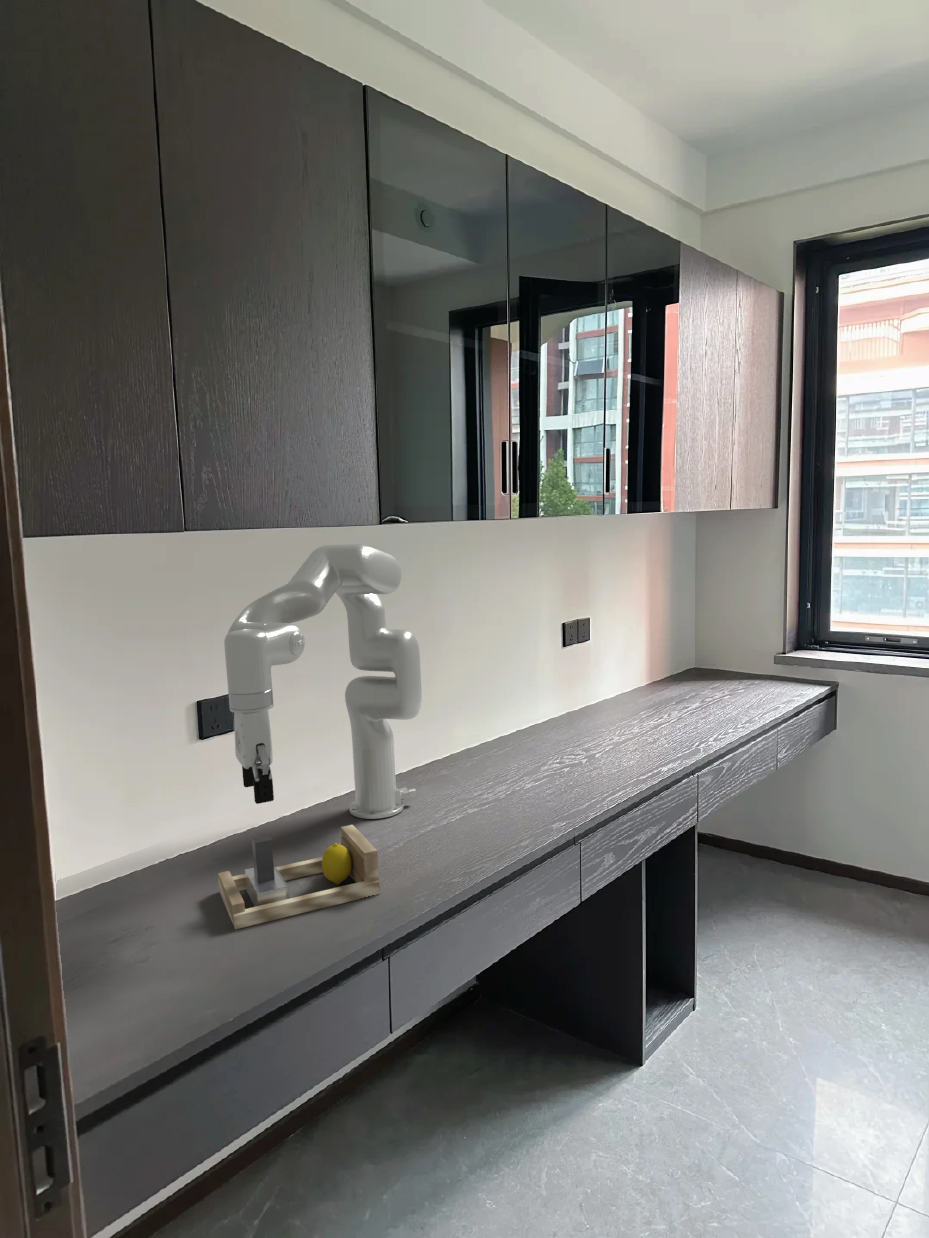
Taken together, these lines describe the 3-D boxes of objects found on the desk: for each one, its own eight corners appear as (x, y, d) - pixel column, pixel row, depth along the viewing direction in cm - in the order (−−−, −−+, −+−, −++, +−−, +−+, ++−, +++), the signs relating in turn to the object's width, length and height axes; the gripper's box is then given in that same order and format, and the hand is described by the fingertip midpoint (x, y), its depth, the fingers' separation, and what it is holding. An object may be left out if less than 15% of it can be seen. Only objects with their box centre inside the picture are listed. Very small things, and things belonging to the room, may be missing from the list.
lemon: (339, 874, 163) (336, 835, 161) (358, 882, 159) (356, 841, 158) (317, 885, 158) (314, 844, 157) (336, 893, 155) (334, 851, 154)
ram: (276, 883, 159) (271, 825, 158) (290, 907, 149) (286, 845, 148) (246, 890, 157) (241, 830, 155) (258, 914, 147) (253, 852, 145)
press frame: (353, 861, 168) (351, 823, 167) (381, 893, 154) (378, 851, 153) (219, 891, 157) (215, 850, 156) (235, 929, 143) (231, 884, 142)
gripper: (220, 693, 154) (228, 783, 157) (238, 713, 139) (246, 813, 141) (262, 688, 157) (268, 776, 160) (284, 707, 142) (291, 804, 144)
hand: (258, 793), depth 150 cm, fingers open, 9 cm apart
